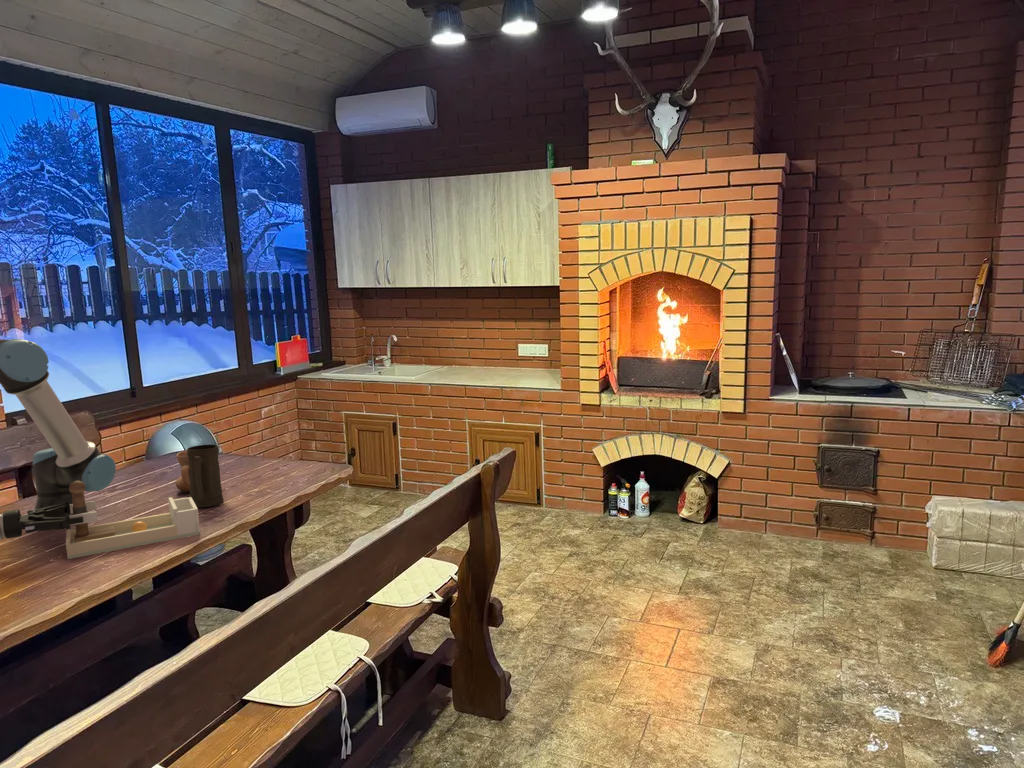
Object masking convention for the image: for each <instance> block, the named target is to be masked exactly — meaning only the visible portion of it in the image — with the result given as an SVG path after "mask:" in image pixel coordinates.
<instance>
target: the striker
mask: <svg viewBox="0 0 1024 768" xmlns="http://www.w3.org/2000/svg"><path fill="white" fill-rule="evenodd" d="M69 491H70V492H71V493H72V501H73V507H72V508H73V515H76V514H82V513H87V507H86V505H85V502H86V499H85V492H86V491H85V484H84V483H83V482H82V481H74V482H72V483H71V484H70V486H69ZM74 527H75V529H76V533H75V543H76V542H82V541H87V540H93V539H99V538H104V537H110V536H115V530H114V527H110V528H104V529H98V530H92V531H88V527H89V523H83V524H77V525H74Z"/></svg>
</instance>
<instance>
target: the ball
mask: <svg viewBox="0 0 1024 768" xmlns="http://www.w3.org/2000/svg"><path fill="white" fill-rule="evenodd" d="M144 530H147V525H146V523H144V522H142V521H139V522H136V523H135V524H134V525H133V526H132V531H133V532H138V531H144Z"/></svg>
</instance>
